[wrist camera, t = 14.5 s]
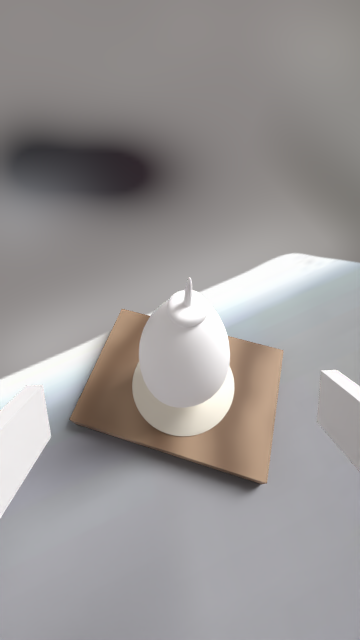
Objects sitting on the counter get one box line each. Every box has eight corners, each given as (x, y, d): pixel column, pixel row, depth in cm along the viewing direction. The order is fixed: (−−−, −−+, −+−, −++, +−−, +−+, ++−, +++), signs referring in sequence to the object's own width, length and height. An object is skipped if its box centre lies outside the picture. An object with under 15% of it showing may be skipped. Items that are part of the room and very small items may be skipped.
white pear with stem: (154, 428, 29) (132, 358, 14) (139, 358, 33) (108, 240, 18) (228, 408, 31) (285, 321, 15) (205, 342, 34) (231, 218, 19)
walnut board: (278, 357, 36) (283, 349, 34) (261, 484, 29) (267, 483, 27) (124, 317, 39) (121, 308, 37) (75, 423, 32) (68, 419, 30)
